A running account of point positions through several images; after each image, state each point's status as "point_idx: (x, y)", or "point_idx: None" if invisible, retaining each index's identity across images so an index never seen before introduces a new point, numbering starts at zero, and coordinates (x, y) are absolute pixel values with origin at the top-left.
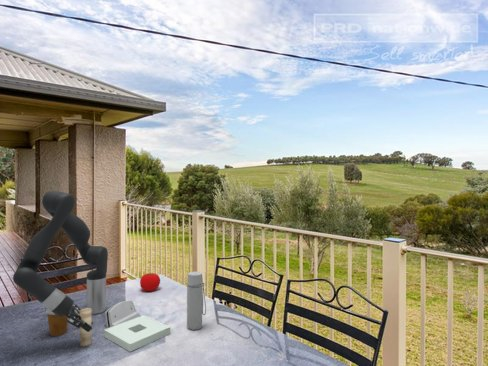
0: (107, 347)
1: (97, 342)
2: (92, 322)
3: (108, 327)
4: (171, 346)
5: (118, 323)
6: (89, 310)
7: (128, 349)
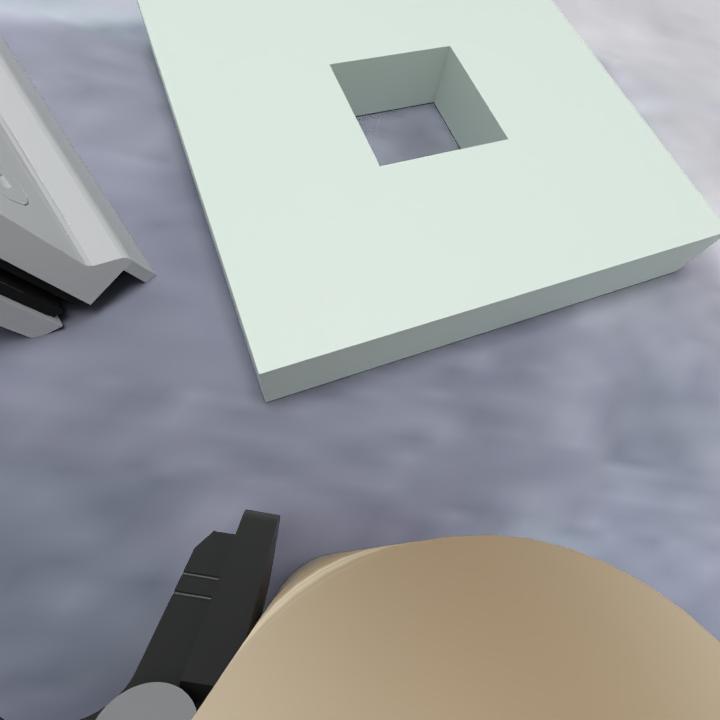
0: (534, 413)
1: (374, 488)
2: (273, 519)
3: (59, 320)
4: (671, 57)
5: (98, 209)
6: (674, 681)
7: (667, 270)
